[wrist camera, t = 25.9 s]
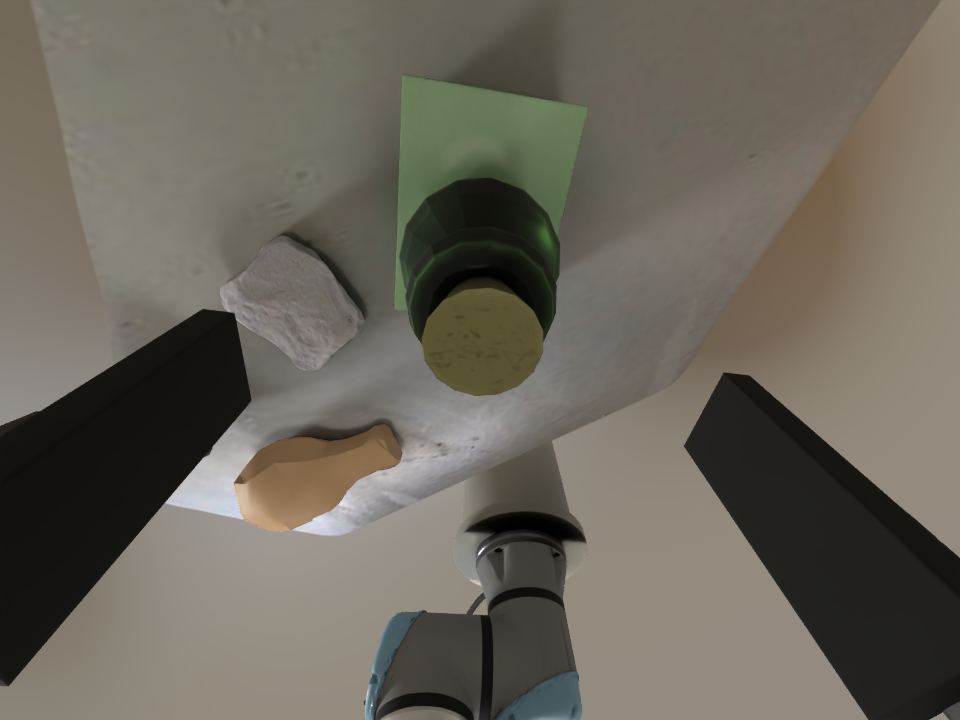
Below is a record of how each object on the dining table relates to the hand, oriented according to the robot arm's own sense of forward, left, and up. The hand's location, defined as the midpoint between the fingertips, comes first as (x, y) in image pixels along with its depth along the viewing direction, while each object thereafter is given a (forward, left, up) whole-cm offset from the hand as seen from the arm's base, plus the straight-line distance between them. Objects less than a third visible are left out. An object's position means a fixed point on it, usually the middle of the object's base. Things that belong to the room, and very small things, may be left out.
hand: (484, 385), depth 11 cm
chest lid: (+1, 0, -21) cm, 21 cm away
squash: (-32, +15, -29) cm, 45 cm away
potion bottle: (0, 0, -20) cm, 20 cm away
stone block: (-11, +16, -29) cm, 34 cm away
